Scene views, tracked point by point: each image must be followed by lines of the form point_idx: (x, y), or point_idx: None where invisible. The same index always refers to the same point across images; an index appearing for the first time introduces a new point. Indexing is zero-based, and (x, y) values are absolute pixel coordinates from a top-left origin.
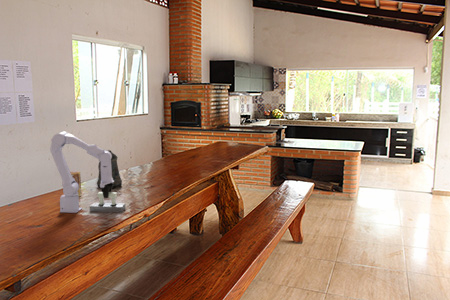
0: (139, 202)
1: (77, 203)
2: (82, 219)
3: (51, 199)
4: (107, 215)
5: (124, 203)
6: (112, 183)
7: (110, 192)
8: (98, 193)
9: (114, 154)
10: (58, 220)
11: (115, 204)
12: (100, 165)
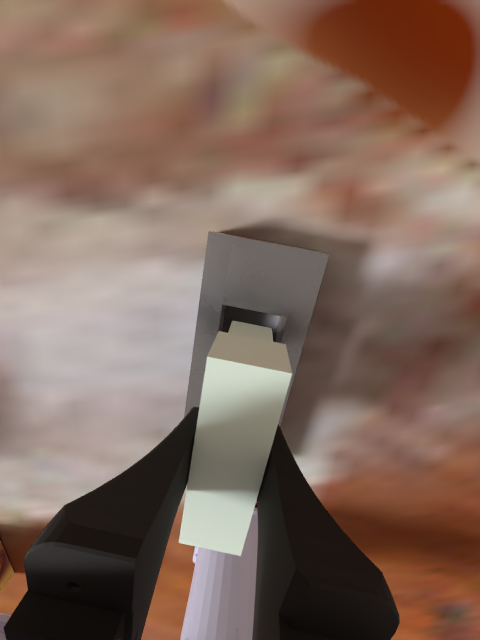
0: (34, 116)
1: (251, 564)
2: (414, 474)
3: None
4: (371, 346)
5: (208, 239)
6: (95, 565)
7: (212, 437)
8: (243, 545)
9: None
10: (395, 564)
11: (220, 320)
12: None
